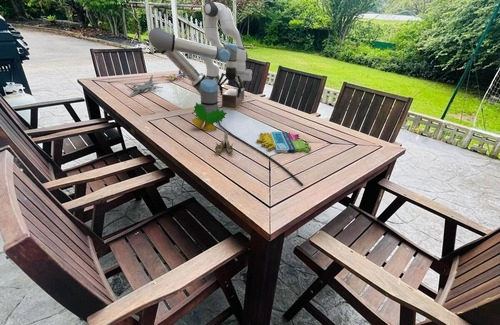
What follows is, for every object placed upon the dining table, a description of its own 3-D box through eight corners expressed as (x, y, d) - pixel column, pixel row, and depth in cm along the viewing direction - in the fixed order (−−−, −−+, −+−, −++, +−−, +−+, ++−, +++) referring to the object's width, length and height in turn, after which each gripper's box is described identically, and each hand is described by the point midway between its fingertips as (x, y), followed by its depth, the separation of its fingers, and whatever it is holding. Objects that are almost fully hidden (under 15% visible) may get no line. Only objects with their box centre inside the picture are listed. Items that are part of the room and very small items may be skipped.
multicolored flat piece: (313, 150, 142) (258, 149, 139) (312, 153, 143) (258, 152, 140) (301, 132, 164) (254, 130, 161) (301, 134, 165) (254, 133, 162)
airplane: (123, 86, 237) (121, 75, 232) (158, 84, 251) (157, 74, 246) (127, 99, 209) (125, 86, 204) (167, 96, 222) (166, 84, 217)
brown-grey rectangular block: (229, 101, 219) (229, 88, 214) (241, 103, 217) (242, 90, 212) (221, 107, 203) (222, 94, 197) (235, 109, 201) (236, 95, 196)
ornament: (218, 133, 171) (224, 110, 169) (221, 134, 163) (227, 111, 161) (186, 125, 162) (192, 101, 160) (189, 126, 155) (195, 101, 153)
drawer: (234, 96, 231) (235, 86, 227) (245, 97, 229) (245, 87, 225) (226, 103, 211) (226, 92, 207) (238, 104, 209) (238, 93, 205)
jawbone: (234, 135, 144) (233, 125, 135) (233, 160, 138) (232, 151, 129) (217, 135, 144) (216, 125, 135) (216, 160, 138) (214, 150, 129)
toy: (194, 71, 288) (181, 75, 262) (194, 77, 291) (182, 82, 265) (171, 68, 293) (156, 72, 267) (171, 75, 296) (157, 79, 270)
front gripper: (248, 68, 191) (246, 97, 201) (216, 64, 195) (216, 92, 206) (246, 69, 185) (244, 99, 195) (213, 65, 189) (212, 95, 199)
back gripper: (253, 69, 216) (252, 85, 223) (229, 66, 219) (229, 83, 226) (251, 70, 211) (250, 87, 217) (227, 67, 214) (227, 84, 221)
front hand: (229, 96), depth 200 cm, fingers open, 13 cm apart
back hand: (239, 85), depth 222 cm, fingers closed
